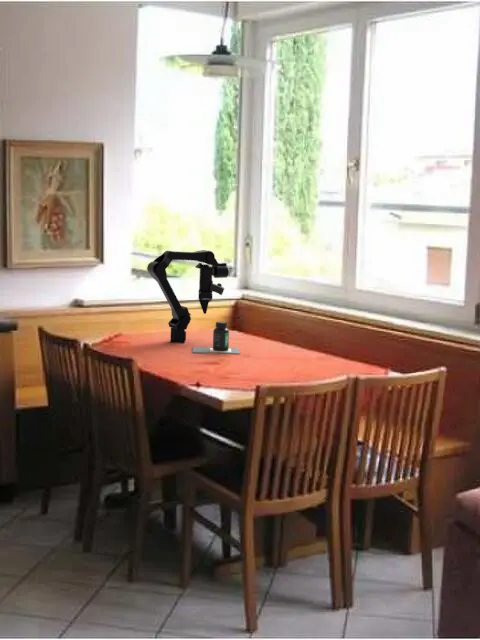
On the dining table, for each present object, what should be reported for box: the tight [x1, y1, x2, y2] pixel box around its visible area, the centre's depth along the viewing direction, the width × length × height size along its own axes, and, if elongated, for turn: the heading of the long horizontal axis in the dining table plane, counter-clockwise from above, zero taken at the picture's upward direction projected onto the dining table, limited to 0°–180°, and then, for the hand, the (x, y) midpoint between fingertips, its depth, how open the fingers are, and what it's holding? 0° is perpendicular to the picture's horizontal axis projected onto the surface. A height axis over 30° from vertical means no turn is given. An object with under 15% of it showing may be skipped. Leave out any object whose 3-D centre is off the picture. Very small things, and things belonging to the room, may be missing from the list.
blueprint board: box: [192, 346, 241, 355], centre depth 407 cm, size 20×13×1 cm, turn 92°
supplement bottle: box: [212, 321, 230, 351], centre depth 407 cm, size 7×7×12 cm
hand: (204, 312), depth 432 cm, fingers open, 9 cm apart
